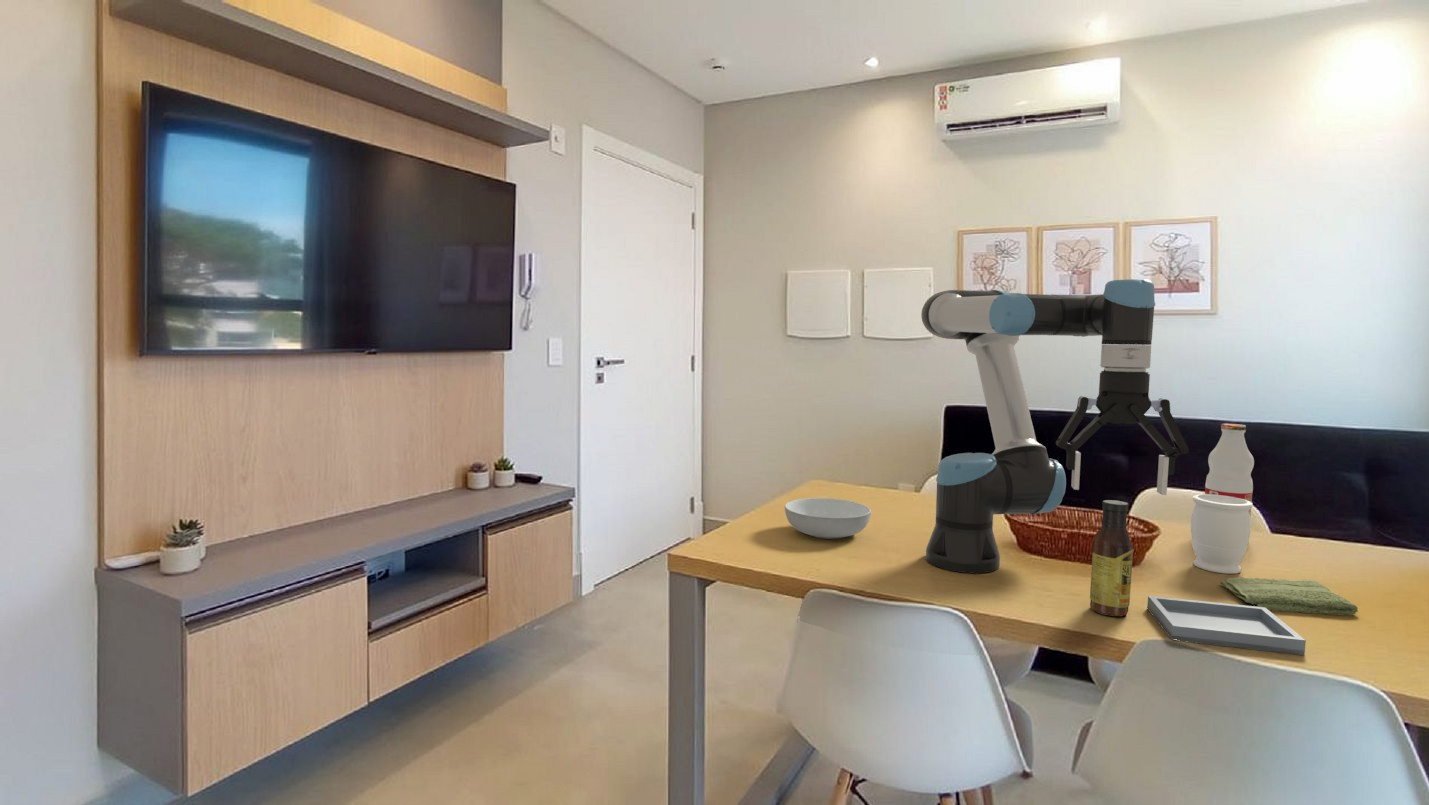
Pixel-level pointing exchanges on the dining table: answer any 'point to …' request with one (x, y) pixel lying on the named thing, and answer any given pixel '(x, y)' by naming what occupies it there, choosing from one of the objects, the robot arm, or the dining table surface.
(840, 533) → the serving bowl
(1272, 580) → the washcloth
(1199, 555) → the jar
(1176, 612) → the tray
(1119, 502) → the sauce bottle
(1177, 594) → the dining table surface
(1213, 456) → the fruit juice
